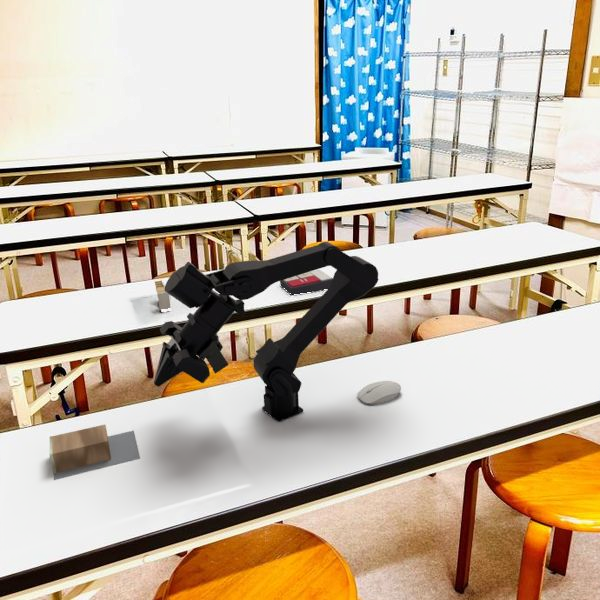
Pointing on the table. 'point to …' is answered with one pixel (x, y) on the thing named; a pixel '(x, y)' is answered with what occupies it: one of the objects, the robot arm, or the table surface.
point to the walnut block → (79, 448)
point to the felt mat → (120, 450)
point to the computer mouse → (379, 392)
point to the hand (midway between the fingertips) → (155, 384)
